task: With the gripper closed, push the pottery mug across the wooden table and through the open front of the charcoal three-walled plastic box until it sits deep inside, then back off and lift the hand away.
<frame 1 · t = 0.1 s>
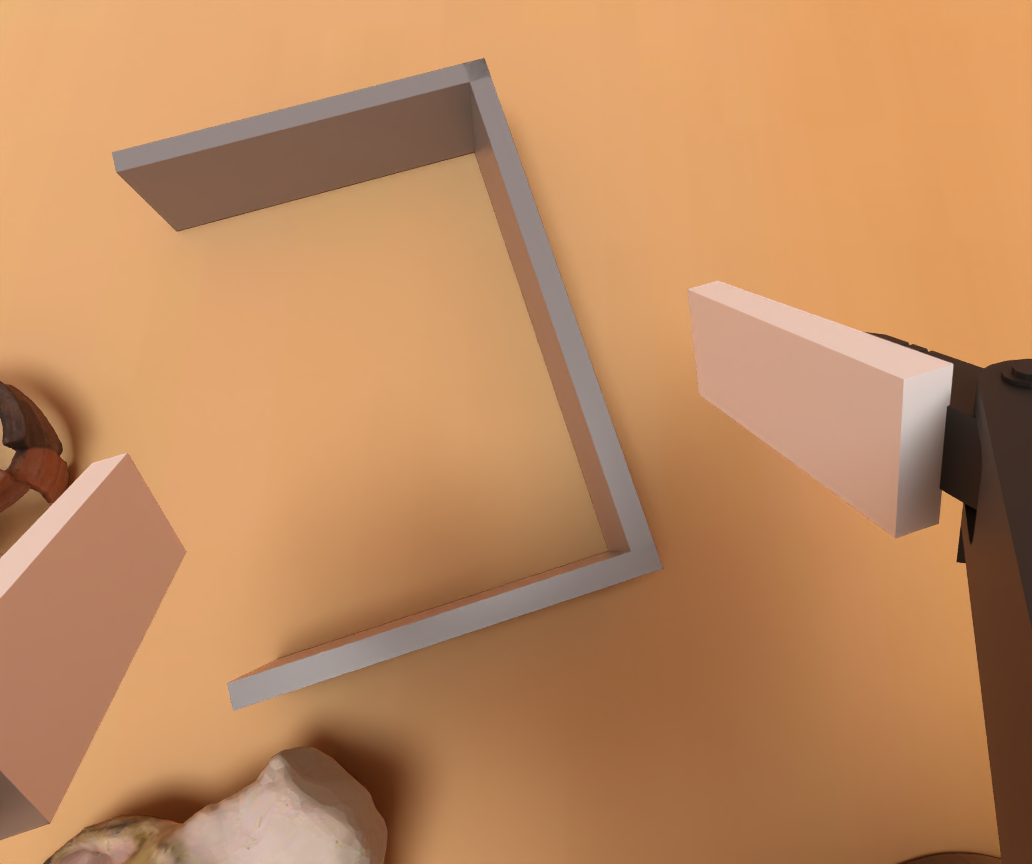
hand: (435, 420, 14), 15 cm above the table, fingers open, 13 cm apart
walled box: (383, 384, 30), on the table
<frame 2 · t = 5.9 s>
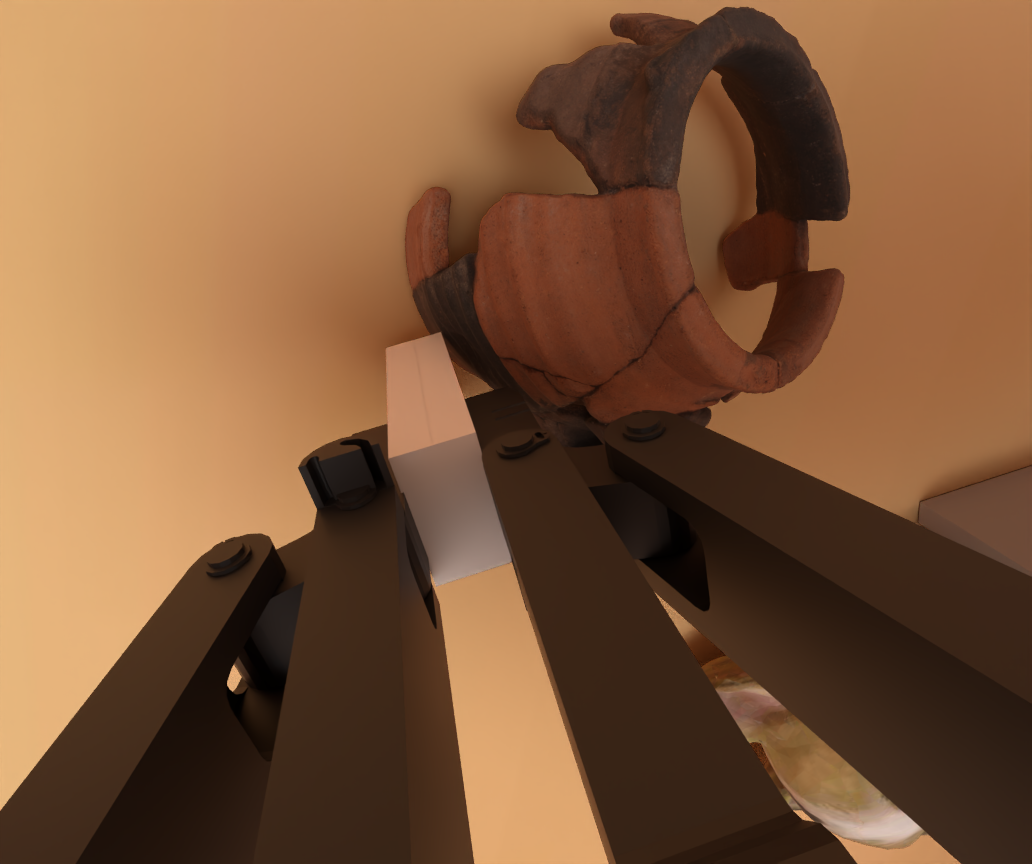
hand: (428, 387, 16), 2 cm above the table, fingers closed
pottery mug: (579, 280, 18), on the table, touching gripper
ceramic sculpture: (810, 644, 27), on the table
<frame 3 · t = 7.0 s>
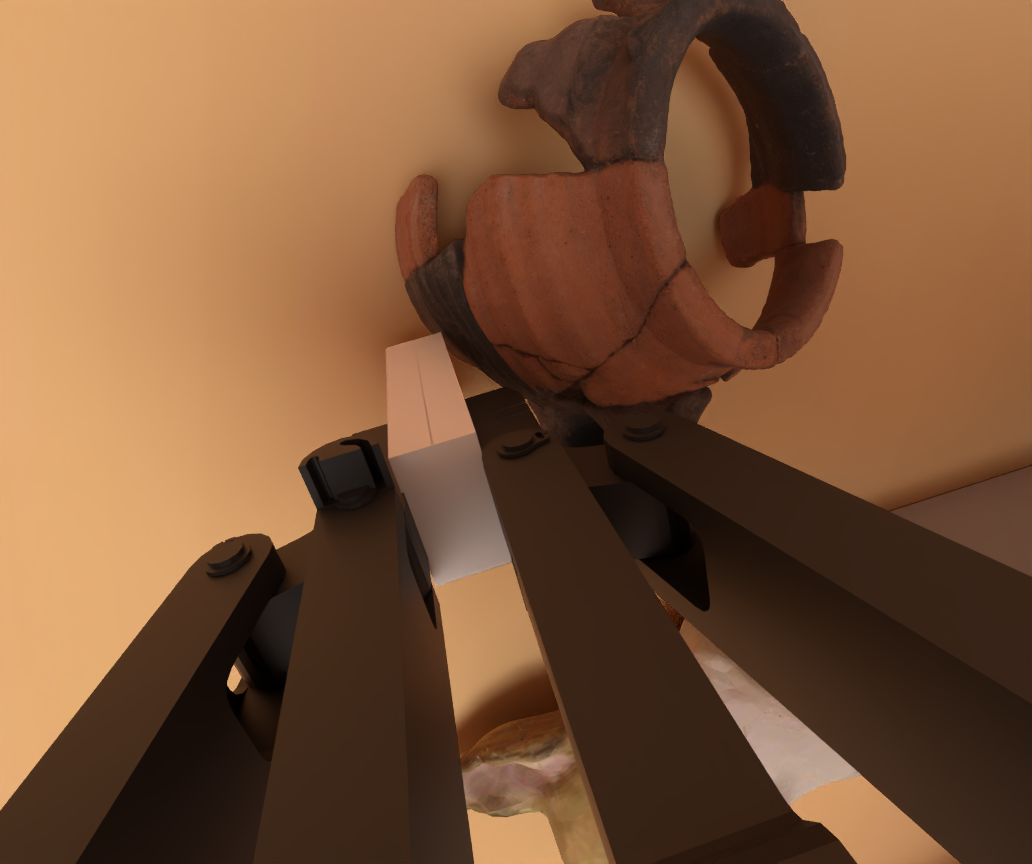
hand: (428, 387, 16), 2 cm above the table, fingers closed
walled box: (946, 213, 19), on the table
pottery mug: (573, 264, 18), on the table, touching gripper
ceramic sculpture: (624, 695, 26), on the table
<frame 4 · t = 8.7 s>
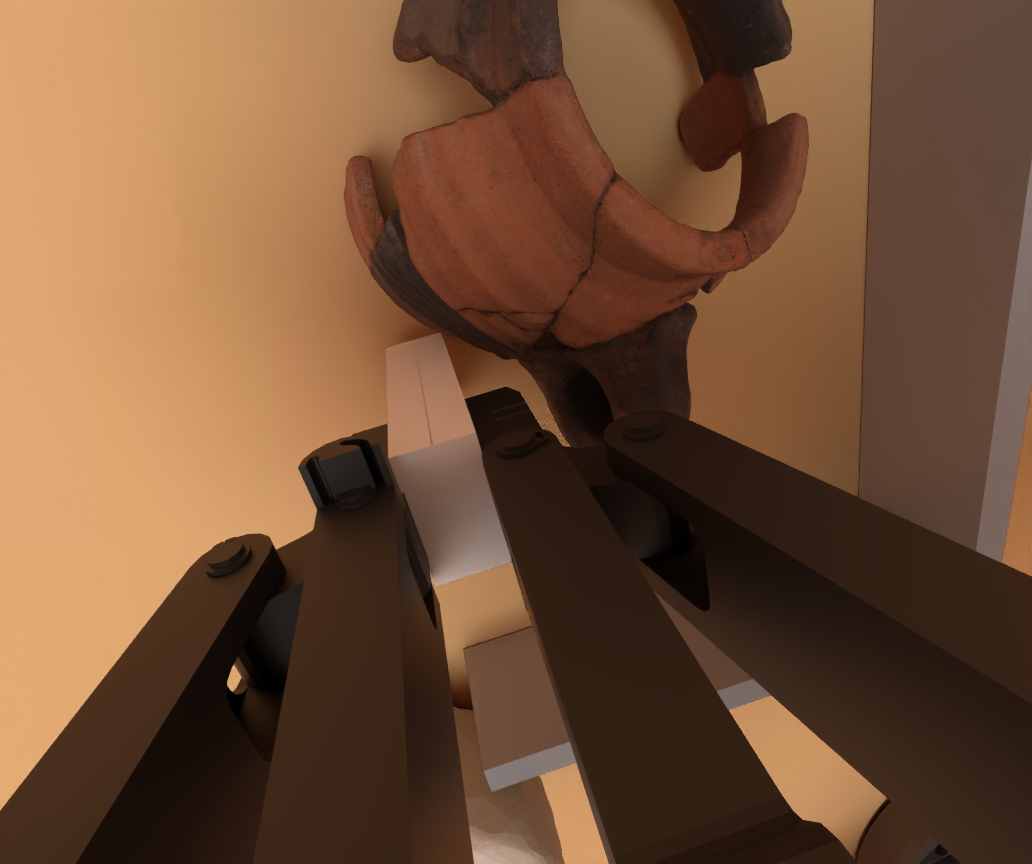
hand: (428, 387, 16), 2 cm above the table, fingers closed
walled box: (625, 303, 18), on the table
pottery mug: (538, 211, 17), on the table, touching gripper
ceramic sculpture: (379, 784, 25), on the table
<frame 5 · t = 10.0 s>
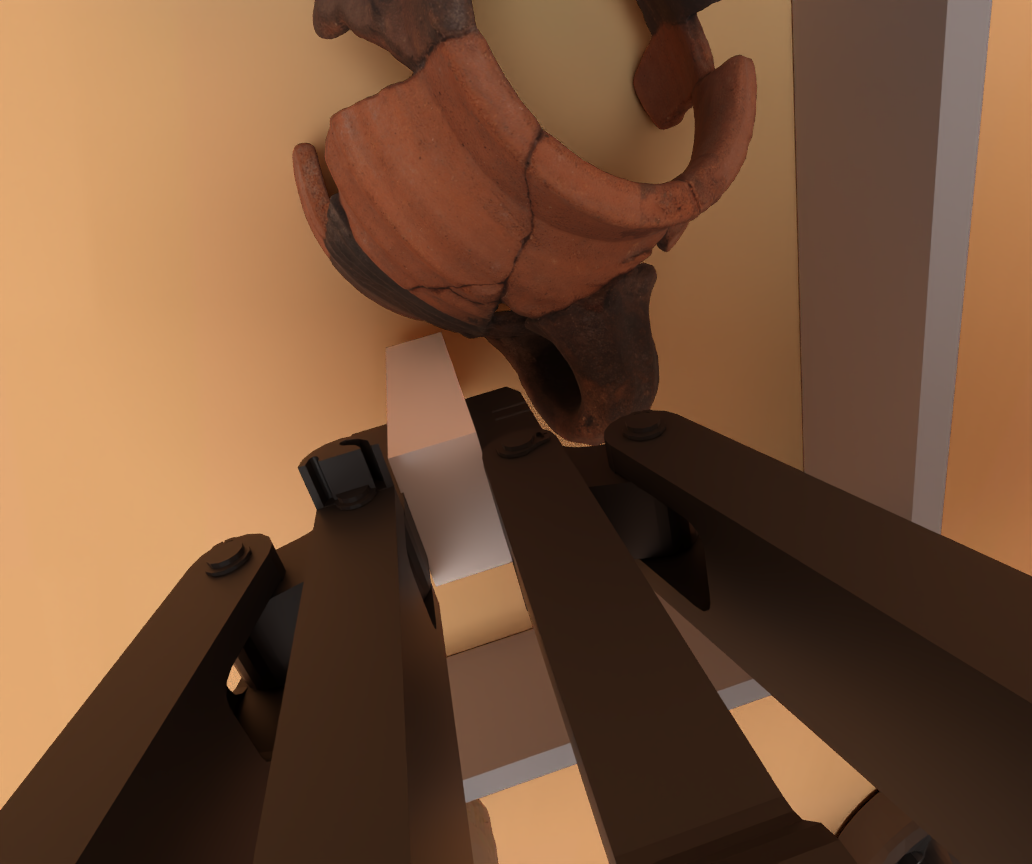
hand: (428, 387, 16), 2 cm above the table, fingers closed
walled box: (554, 327, 18), on the table
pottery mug: (497, 186, 17), on the table
ceramic sculpture: (332, 809, 25), on the table
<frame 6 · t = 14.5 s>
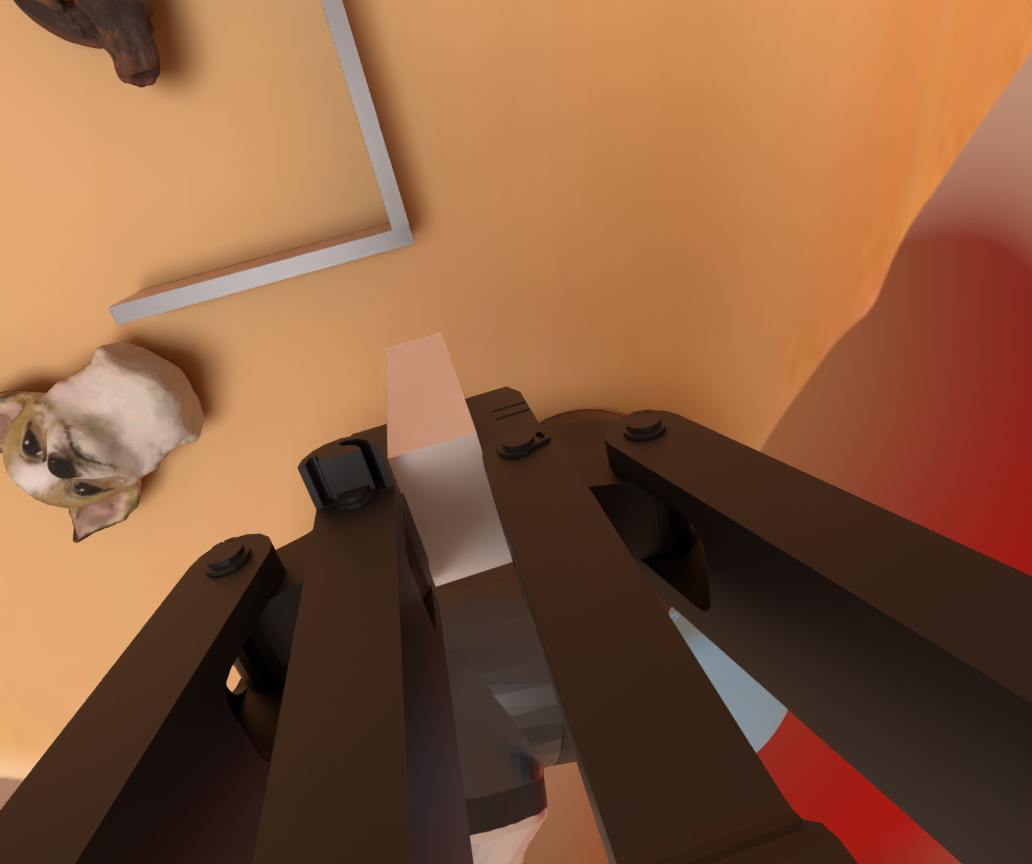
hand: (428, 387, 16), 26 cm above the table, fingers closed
walled box: (187, 56, 34), on the table
ceramic sculpture: (116, 416, 41), on the table
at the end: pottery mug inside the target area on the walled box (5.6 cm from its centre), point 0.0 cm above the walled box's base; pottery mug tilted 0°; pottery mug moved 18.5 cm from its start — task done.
